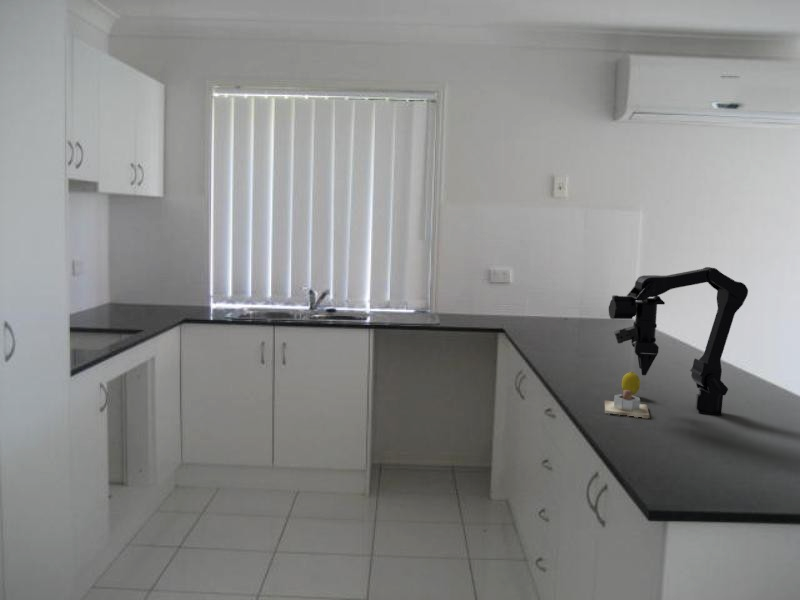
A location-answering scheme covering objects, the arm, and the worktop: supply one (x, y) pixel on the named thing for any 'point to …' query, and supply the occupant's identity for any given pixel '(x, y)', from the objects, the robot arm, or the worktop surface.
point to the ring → (626, 403)
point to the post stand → (639, 413)
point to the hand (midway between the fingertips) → (642, 371)
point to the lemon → (631, 382)
